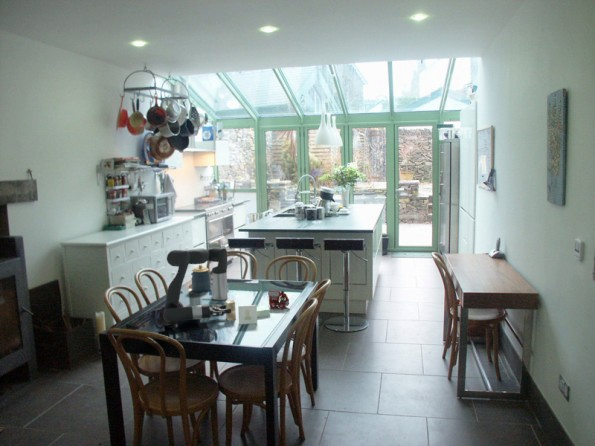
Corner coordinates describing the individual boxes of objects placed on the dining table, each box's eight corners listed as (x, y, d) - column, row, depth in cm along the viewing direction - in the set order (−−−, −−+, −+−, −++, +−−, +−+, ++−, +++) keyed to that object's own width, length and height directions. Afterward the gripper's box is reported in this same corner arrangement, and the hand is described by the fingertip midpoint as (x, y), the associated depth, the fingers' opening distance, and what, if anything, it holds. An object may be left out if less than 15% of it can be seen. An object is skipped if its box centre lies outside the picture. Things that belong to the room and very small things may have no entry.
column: (227, 320, 276) (227, 303, 275) (226, 318, 280) (225, 301, 279) (235, 319, 277) (235, 302, 276) (234, 317, 281) (233, 300, 280)
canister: (195, 287, 349) (194, 262, 346) (213, 287, 347) (212, 262, 345) (189, 292, 336) (187, 266, 334) (207, 292, 334) (206, 267, 332)
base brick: (256, 318, 280) (256, 311, 280) (252, 314, 288) (252, 307, 287) (270, 316, 283) (270, 309, 283) (265, 312, 291) (265, 305, 290)
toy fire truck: (287, 309, 294) (287, 292, 293) (267, 309, 296) (266, 292, 294) (289, 306, 301) (289, 289, 299) (269, 305, 303) (269, 289, 301)
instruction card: (238, 324, 269) (238, 306, 268) (238, 322, 272) (238, 304, 271) (257, 323, 270) (256, 305, 269) (257, 321, 273) (256, 304, 272)
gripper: (201, 308, 266) (231, 305, 271) (199, 301, 280) (227, 298, 284) (202, 322, 267) (232, 319, 272) (199, 314, 281) (228, 311, 285)
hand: (229, 308), depth 278 cm, fingers open, 8 cm apart
